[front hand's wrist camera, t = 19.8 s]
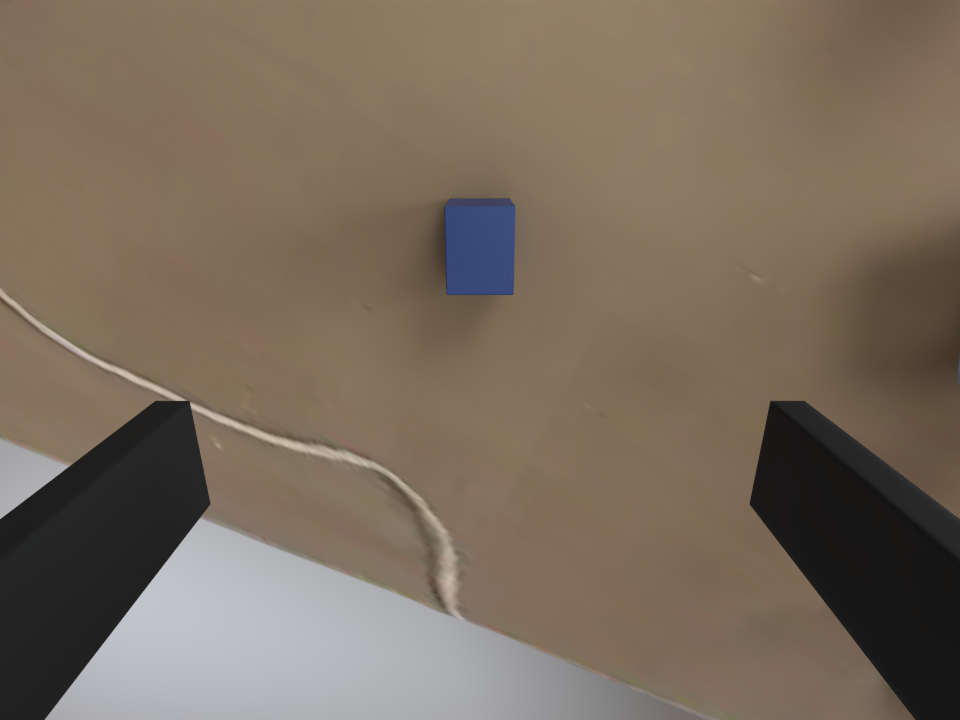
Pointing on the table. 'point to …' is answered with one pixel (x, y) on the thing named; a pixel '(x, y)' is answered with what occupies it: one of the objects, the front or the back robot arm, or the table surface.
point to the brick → (479, 246)
